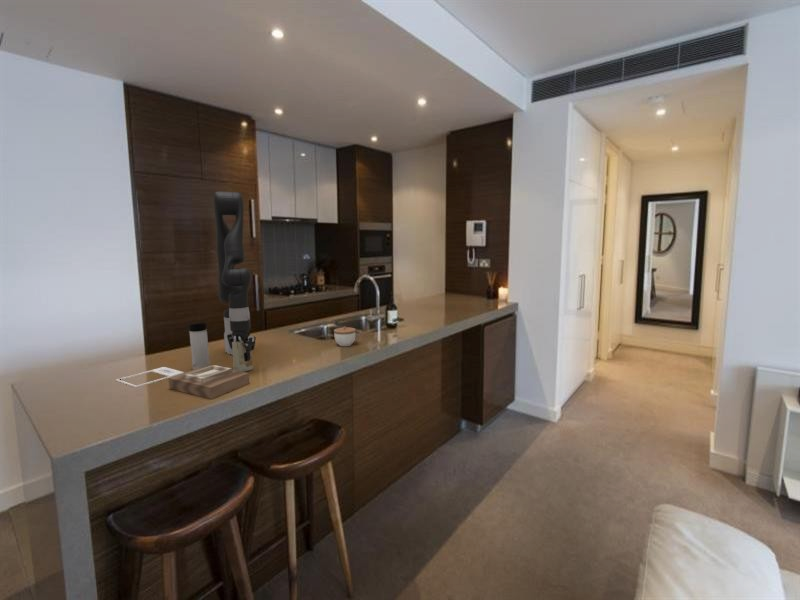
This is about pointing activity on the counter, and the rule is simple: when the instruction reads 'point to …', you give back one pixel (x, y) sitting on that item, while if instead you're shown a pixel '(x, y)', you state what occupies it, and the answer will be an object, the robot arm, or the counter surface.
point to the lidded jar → (344, 336)
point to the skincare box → (240, 358)
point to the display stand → (209, 381)
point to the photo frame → (161, 371)
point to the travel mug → (199, 345)
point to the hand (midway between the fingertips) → (242, 360)
